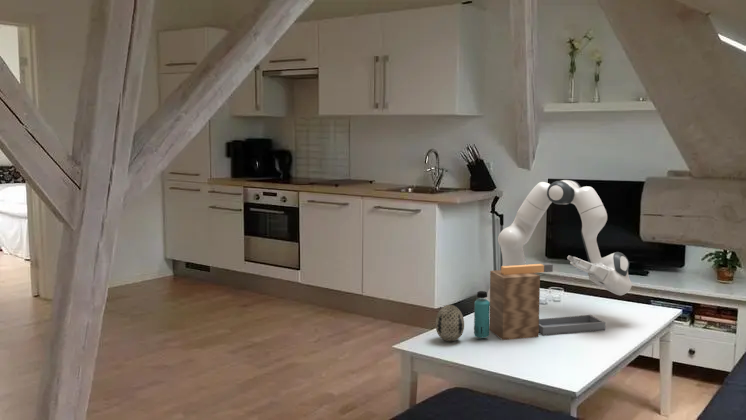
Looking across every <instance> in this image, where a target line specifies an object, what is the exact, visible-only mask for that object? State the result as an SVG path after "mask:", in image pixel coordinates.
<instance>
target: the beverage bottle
mask: <svg viewBox="0 0 746 420" xmlns="http://www.w3.org/2000/svg"><path fill="white" fill-rule="evenodd" d="M487 295H488V292H487V291H485V290H484V291H483V290H481V291H477V295H476V297H477V299H476V300H475V301H474V309H473V310H474V311H473V316H474V318H473V319H474V320H473V335H474V336H475V337H477V338H488V337H489V336H490V330H489V324H490V302H489V301H488V300H487V299H483V298H487Z"/></svg>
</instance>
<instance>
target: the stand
mask: <svg viewBox="0 0 746 420" xmlns="http://www.w3.org/2000/svg"><path fill="white" fill-rule="evenodd" d="M489 273H490V274H489V277H490V278H489V289H490V304H489V332H491V333H493V334H494V335H496V337H498V338H499V339H500V340H502V341H504V340H505V341H506V340H517V339H528V338H539V337H540V336H539V334H540V333H539V319H540V296H541V295H540V292H541V291H540V290H541V275H539V274H537V273H525V274H510V275H503V274H501V269H499V270H498V269H497V270H495V269H494V270H490V271H489Z"/></svg>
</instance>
